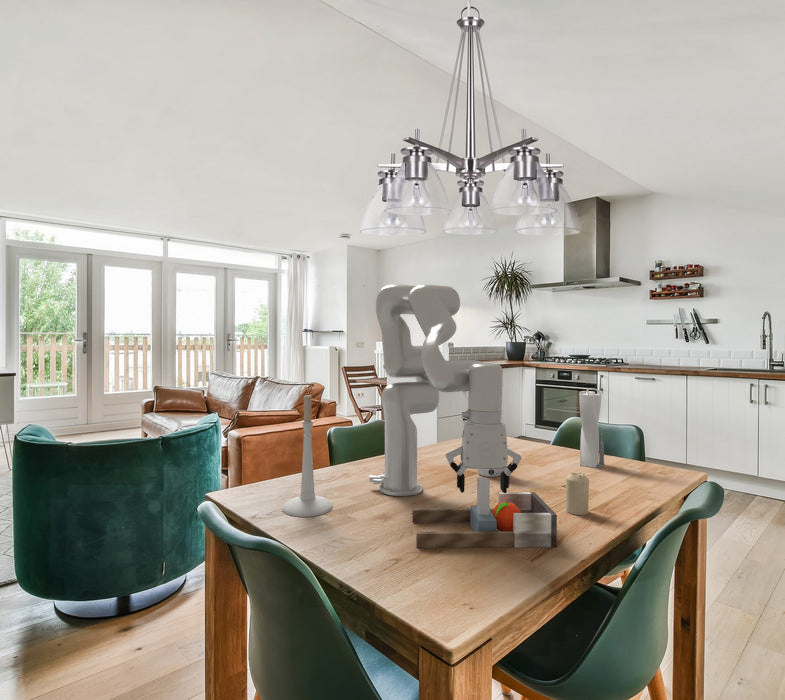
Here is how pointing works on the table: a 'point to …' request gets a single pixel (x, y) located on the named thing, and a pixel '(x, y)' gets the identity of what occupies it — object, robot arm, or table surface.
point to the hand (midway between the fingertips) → (482, 491)
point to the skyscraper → (590, 430)
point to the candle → (577, 494)
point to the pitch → (528, 531)
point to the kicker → (482, 508)
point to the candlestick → (307, 476)
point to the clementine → (505, 515)
